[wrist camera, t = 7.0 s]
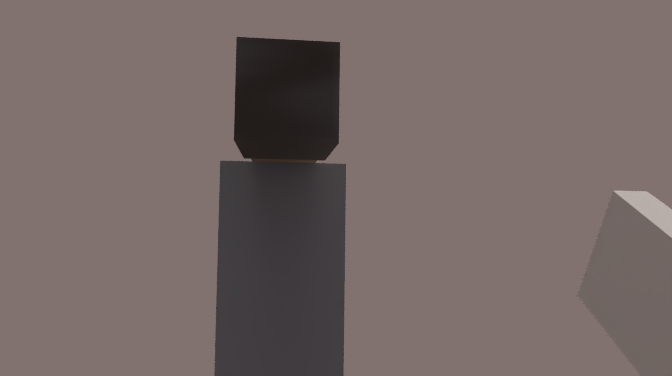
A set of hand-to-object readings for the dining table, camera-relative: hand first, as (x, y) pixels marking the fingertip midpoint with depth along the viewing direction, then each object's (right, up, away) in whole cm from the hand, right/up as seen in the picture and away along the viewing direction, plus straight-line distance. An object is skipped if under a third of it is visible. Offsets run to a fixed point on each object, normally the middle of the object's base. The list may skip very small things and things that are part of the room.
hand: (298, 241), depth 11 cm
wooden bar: (-2, +2, +19) cm, 19 cm away
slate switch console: (-3, -28, +19) cm, 34 cm away
